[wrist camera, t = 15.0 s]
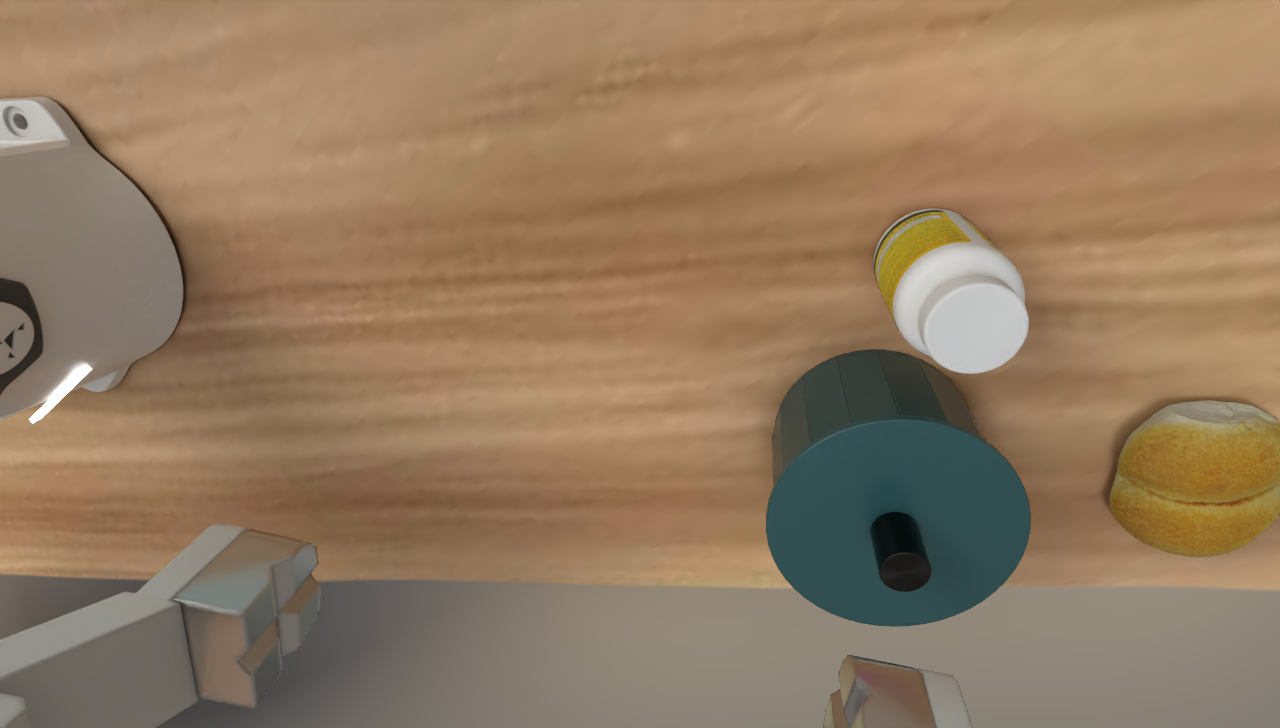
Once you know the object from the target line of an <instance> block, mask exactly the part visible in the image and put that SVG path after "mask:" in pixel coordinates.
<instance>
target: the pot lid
mask: <svg viewBox="0 0 1280 728" xmlns="http://www.w3.org/2000/svg"><path fill="white" fill-rule="evenodd" d="M1030 524H1031V513H1030V507H1029V500H1028V497H1027V494H1026V491H1025V488H1024V486H1023V484H1022V482H1021V480H1020V478H1019V477H1018V475H1017V473H1016V471H1015V469H1014V468H1013V467H1012V465H1011V464H1010V463H1009V462H1008V460H1007V459H1006V458H1005V457H1004V456H1003V455H1002V454H1001V453H1000V452H999V451H998V450H997V449H996V448H995V447H994V446H993V445H991V444H990V443H989V442H987V441H986V440H985V439H983V438H982V437H980V436H979V435H977V434H975V433H973V432H971V431H969V430H967V429H965V428H963V427H960V426H958V425H955V424H952V423H950V422H947V421H943V420H939V419H935V418H930V417H923V416H915V415H887V416H876V417H871V418H866V419H862V420H857V421H854V422H851V423H848V424H845V425H842V426H840V427H837V428H835V429H833V430H831V431H829V432H826V433H825V434H823V435H821V436H820V437H818V438H817V439H815V440H813V441H812V442H810V443H809V444H808V445H807V446H805V447H804V448H803V449H802V450H800V451H799V452H798V453H797V454H796V455H795V456H794V457H793V458H792V459H791V460H790V461H789V462H788V464H787V465H786V467H785V468H784V469H783V471H782V472H781V473H780V475H779V477H778V479H777V481H776V482H775V484H774V486H773V489H772V492H771V495H770V497H769V501H768V507H767V512H766V533H767V539H768V545H769V548H770V551H771V554H772V557H773V559H774V561H775V563H776V565H777V567H778V569H779V570H780V572H781V573H782V575H783V576H784V577H785V579H786V580H787V581H788V582H789V583H790V584H791V586H792V587H793V588H794V589H795V590H796V591H798V592H799V593H800V594H801V595H802V596H803V597H805V598H806V599H807V600H809V601H810V602H812V603H813V604H815V605H816V606H818V607H820V608H822V609H824V610H826V611H828V612H829V613H832V614H834V615H837V616H839V617H842V618H845V619H848V620H852V621H855V622H859V623H864V624H870V625H878V626H912V625H920V624H926V623H931V622H935V621H939V620H943V619H946V618H948V617H952V616H955V615H957V614H959V613H961V612H964V611H966V610H968V609H970V608H972V607H973V606H975V605H977V604H979V603H980V602H982V601H983V600H985V599H986V598H987V597H989V596H990V595H991V594H993V593H994V592H995V591H996V590H997V589H998V588H999V587H1000V586H1001V585H1003V584H1004V583H1005V582H1006V581H1007V579H1008V578H1009V577H1010V575H1011V574H1012V573H1013V571H1014V570H1015V569H1016V567H1017V565H1018V564H1019V562H1020V560H1021V558H1022V556H1023V554H1024V551H1025V549H1026V546H1027V543H1028V538H1029V533H1030Z"/></svg>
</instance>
